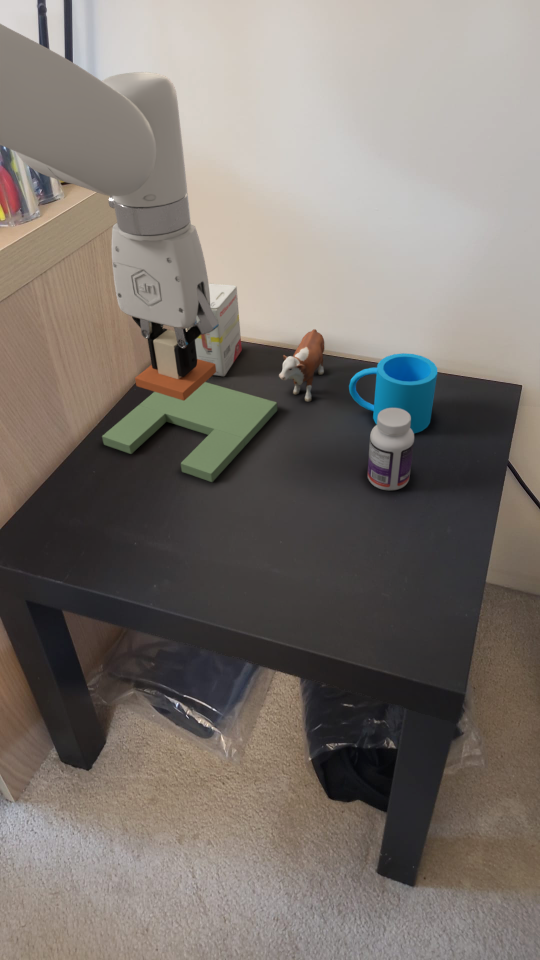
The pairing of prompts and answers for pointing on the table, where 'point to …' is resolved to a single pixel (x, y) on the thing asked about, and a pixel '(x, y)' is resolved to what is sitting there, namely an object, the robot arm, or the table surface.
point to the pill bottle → (391, 450)
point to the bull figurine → (305, 362)
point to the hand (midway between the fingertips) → (174, 366)
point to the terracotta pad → (174, 384)
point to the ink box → (221, 330)
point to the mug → (401, 387)
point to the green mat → (197, 425)
